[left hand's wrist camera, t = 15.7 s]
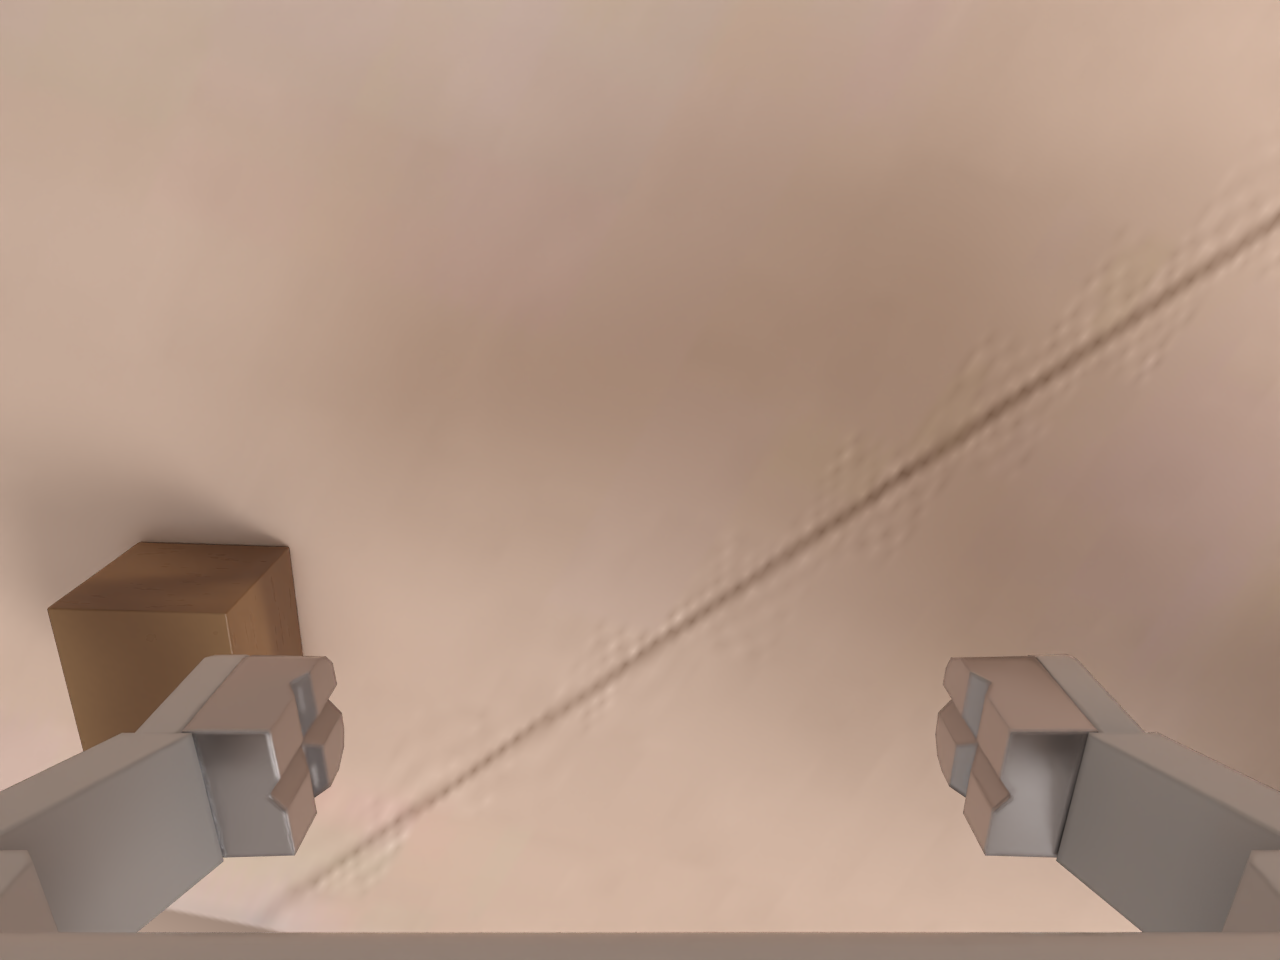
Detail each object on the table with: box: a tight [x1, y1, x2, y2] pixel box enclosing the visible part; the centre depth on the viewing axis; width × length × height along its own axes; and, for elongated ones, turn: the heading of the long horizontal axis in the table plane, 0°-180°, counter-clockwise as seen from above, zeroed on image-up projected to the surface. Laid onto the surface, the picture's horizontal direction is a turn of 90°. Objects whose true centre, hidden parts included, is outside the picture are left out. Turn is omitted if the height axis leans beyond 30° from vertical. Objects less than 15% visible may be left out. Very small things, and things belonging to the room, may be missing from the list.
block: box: [48, 542, 303, 751], centre depth 24 cm, size 5×5×4 cm
